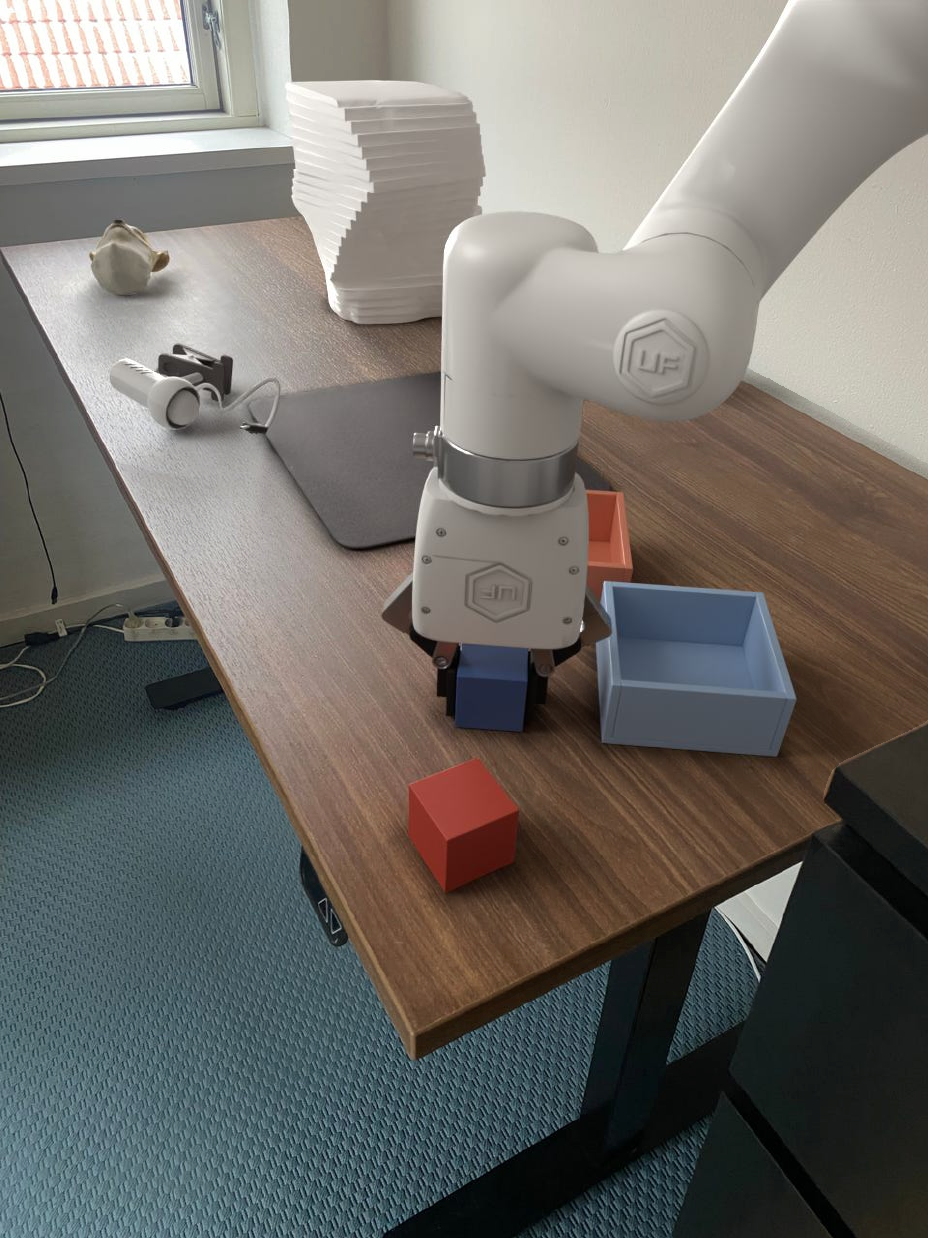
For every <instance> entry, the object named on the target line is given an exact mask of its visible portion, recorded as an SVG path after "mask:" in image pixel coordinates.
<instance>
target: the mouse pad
mask: <svg viewBox="0 0 928 1238" xmlns="http://www.w3.org/2000/svg"><path fill="white" fill-rule="evenodd" d="M275 398H276V395H274V396H273V395H272V396H267V397H261V398H259V399H255V400H253V401H251V402H250V403H249V404H248V411H249V413H250V415H251V416H252V418H253V419H254V420H255V423H257V424H262V425H265V424H266V423H267V421H268V419H269V417H270V414H271V411H272V409H273V406H274V402H275ZM440 413H441V370H440V371H435V372H428V373H419V374H415V375H406V376H399V377H393V378H387V379H380V380H374V381H373V380H372V381H366V382H361V383H353V384H347V385H340V386H334V387H327V388H321V389H314V390H307V391H300V392H294V393H293V392H292V393H287V394H280V398H279V402H278V407H277V410H276V413H275V416H274V418H273V420H272V422H271V424H270V426H269V427H268V430H267V432H266V434H264V436H265V438H266V439H267V441H268V442H269V444H270V445H271V446H272V448H273V449H274V452H275V453H276V455H277V456H278V458H279V459H280V460H281V462H282V463H283V465H284V466H285V468H286V469H287V471H288V473H289V474H290V476H291V478H293V480H294V482H295V483H296V485H297V486H298V488H299V489H300V491H301V493H302V494H303V495H304V497H305V498H306V500H307V501H308V503H309V504H310V506H311V508H312V509H313V510H314V512H315V514H316V515H317V517H318V518H319V520H320V521H321V522H322V524H323V526H324V528H325V529H326V530H327V532H328V534H329V535H330V536H331V538H332V539H333V540H334V541H335V542H336V543H337V544H338V545H340V546H341V547H343V548H347V549H351V550H364V549H370V548H371V549H372V548H375V547H380V546H386V545H389V544H394V543H398V542H403V541H407V540H413V539H416V530H417V522H418V514H419V509H420V503H421V498H422V494H423V490H424V487H425V483H426V480H427V478H428V476H429V473H430V472H431V470H432V469H433V468H434V466H433V461H427V460H426V458H415V457H413V438H414V433H422V434H428V431H431V432H435V429H436V426H440ZM575 472H576V473H577V474H578V475H579V476H580V477H581V479H582V480H583V483H584V488H585V490H597V491H611V485H610V484H609V482H608V481H607V479H605V477H603V476H601V475H600V474H599V473H598V472H597V471H596V470H595V469H593V468H592V467H591V466H590V465H588V463H586V462H585V461H584V460H583V459H581V458H580V457H579V456H578V455H577V463H576V471H575Z"/></svg>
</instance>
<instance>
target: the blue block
mask: <svg viewBox="0 0 928 1238" xmlns="http://www.w3.org/2000/svg"><path fill="white" fill-rule="evenodd" d="M460 646H461V648H460V656H459V664H458V672H457V690H456V715H454V716H455V720H454V726H455V728H464V729H477V730H478V729H479V730H488V731H489V730H490V731H503V732H514V733H515V732H516V733H522V732H523V731H524V721H525V720H524V712H525V702H526V692H527V682H528V651H530V648H515V647H501V646H487V645H474V644H462V643H460Z"/></svg>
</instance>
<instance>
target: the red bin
mask: <svg viewBox="0 0 928 1238" xmlns="http://www.w3.org/2000/svg"><path fill="white" fill-rule="evenodd" d="M586 495H587V502H588V515H589V547H588V564H587V578H586V583H587V585H588V586H589V588H590V589H591V590H592V592H593V593H594V595H595V596H596V598H597V599H598V600H599V602H600V603H601V597H602V590H603V584H604V581H610V582H625V583H632V576H633V572H634V571H633V570H634V566H633V557H632V549H631V542H630V533H629V527H628V519H627V518H628V517H627V510H626V509H627V508H626V503H625V502H626V501H625V493H624V492H623V491H611V490H610V491H597V490H586Z"/></svg>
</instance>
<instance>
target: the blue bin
mask: <svg viewBox="0 0 928 1238" xmlns="http://www.w3.org/2000/svg"><path fill="white" fill-rule="evenodd" d="M601 605H602V606H603V608H604V609H605V610H606V612H607V613H608V615H609V616H610V618H611V625H612V634H611V636H609V637H608V638H606V639H603V640H601V641H599V642H597V643H595V652H596V654H595V655H596V669H597V685H598V702H599V703H598V704H599V718H600V719H599V720H600V736H601V743H602V744H609V745H623V746H636V747H647V748H659V749H671V750H672V749H673V750H687V751H697V752H698V751H699V752H711V753H712V752H713V753H725V754H736V755H747V756H761V757H762V756H764V757H774V758H776V757H778V754H779V753H780V749H781V746H782V743H783V740H784V738H785V735H786V732H787V728H788V726H789V723H790V720H791V717H792V714H793V711H794V708H795V705H796V702H797V696H796V692H795V689H794V686H793V683H792V680H791V676H790V674H789V670H788V666H787V664H786V661H785V658H784V654H783V651H782V647H781V645H780V642H779V638H778V636H777V632H776V629H775V626H774V622H773V620H772V619H773V618H772V616H771V613H770V610H769V606H768V604H767V600H766V597H765V594H764V592H761V591H748V590H735V589H734V590H733V589H720V588H708V587H707V588H705V587H693V586H678V585H666V584H665V585H664V584H652V583H651V584H649V583H639V582H638V583H635V582H631V583H625V582H610V581H604V584H603V590H602V597H601Z"/></svg>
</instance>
